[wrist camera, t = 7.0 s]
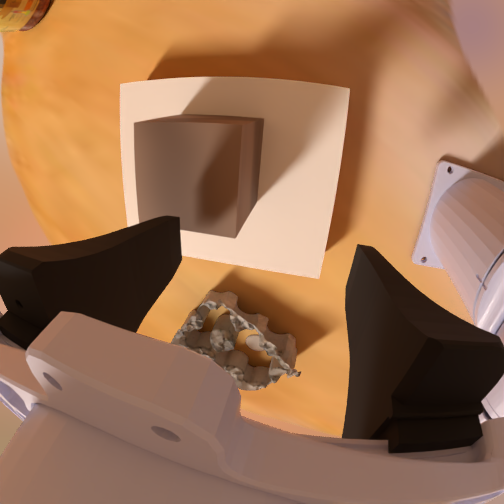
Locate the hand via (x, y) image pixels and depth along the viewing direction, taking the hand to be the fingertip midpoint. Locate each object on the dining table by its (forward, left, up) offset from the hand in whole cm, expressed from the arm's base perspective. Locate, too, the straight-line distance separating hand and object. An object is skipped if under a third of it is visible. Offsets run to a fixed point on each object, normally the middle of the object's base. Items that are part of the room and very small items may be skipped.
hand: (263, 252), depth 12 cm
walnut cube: (+4, -2, -6) cm, 8 cm away
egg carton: (+3, +15, -10) cm, 18 cm away
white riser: (+4, -1, -9) cm, 10 cm away
